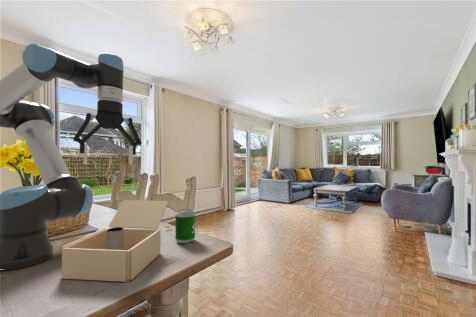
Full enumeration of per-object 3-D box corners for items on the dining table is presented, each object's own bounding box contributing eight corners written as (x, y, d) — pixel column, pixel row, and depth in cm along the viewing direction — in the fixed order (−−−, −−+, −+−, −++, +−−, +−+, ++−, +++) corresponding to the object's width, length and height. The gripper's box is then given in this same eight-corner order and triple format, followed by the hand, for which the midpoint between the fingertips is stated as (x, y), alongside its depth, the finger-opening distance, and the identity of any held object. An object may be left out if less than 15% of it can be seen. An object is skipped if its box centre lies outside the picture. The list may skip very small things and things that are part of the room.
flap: (108, 226, 82) (123, 200, 91) (109, 227, 83) (124, 200, 92) (157, 228, 81) (167, 200, 90) (157, 228, 81) (168, 201, 90)
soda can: (190, 245, 88) (190, 213, 88) (171, 243, 90) (172, 212, 90) (197, 238, 96) (197, 209, 96) (180, 237, 97) (180, 208, 97)
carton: (58, 279, 63) (58, 248, 63) (105, 251, 83) (105, 227, 83) (129, 283, 61) (129, 251, 61) (161, 253, 81) (161, 229, 81)
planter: (104, 266, 69) (104, 231, 69) (109, 260, 74) (109, 227, 74) (121, 265, 70) (121, 230, 70) (125, 259, 74) (125, 226, 75)
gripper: (65, 92, 69) (63, 164, 69) (151, 105, 85) (149, 164, 85) (64, 97, 75) (63, 163, 75) (145, 108, 91) (143, 163, 91)
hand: (109, 164), depth 80 cm, fingers open, 13 cm apart
